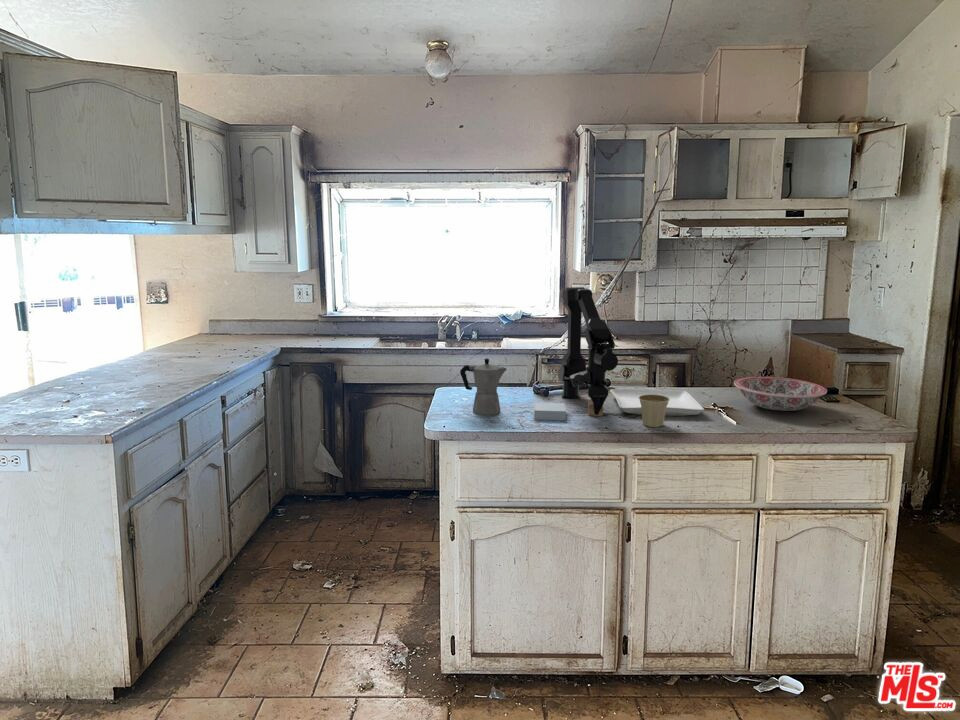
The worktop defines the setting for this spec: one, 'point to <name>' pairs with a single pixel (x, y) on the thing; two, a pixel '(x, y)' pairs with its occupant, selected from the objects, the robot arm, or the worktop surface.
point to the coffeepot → (485, 387)
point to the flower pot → (653, 409)
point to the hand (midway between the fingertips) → (595, 410)
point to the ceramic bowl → (780, 392)
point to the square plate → (679, 400)
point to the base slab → (550, 411)
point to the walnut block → (591, 409)
